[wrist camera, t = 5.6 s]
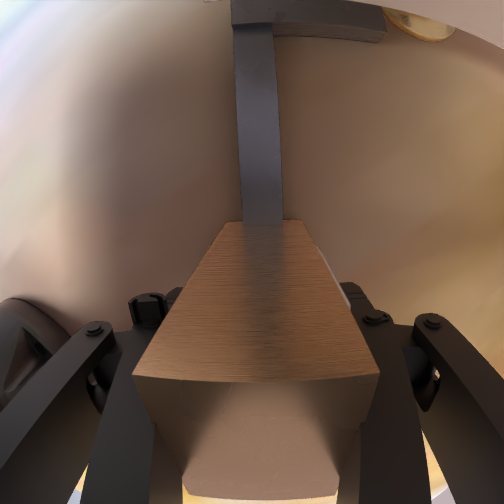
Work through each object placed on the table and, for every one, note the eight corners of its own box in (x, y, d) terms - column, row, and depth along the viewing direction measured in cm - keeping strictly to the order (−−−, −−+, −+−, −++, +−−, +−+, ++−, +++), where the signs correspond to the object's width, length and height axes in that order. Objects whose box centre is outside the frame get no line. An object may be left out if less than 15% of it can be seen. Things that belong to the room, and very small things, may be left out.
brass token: (456, 52, 12) (465, 48, 10) (380, 33, 12) (387, 26, 11) (435, -13, 10) (442, -19, 9) (362, -32, 10) (367, -41, 9)
